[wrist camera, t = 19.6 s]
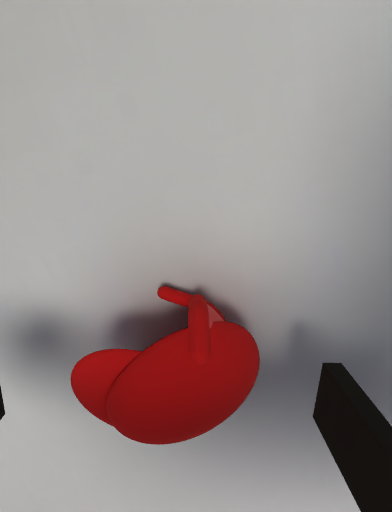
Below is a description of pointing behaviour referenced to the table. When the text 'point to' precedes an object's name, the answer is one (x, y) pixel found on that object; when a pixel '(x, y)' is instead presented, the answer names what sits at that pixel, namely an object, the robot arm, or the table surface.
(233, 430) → the table surface
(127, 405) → the cap
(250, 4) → the table surface
